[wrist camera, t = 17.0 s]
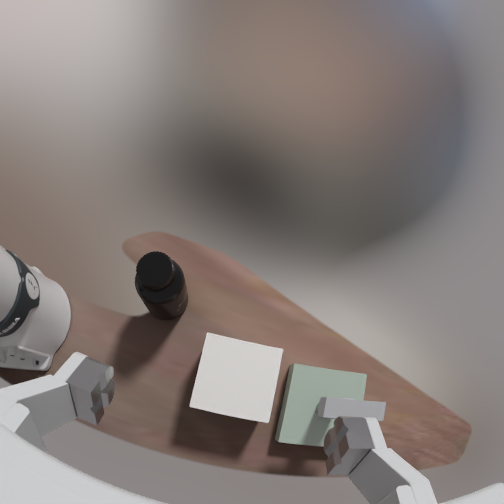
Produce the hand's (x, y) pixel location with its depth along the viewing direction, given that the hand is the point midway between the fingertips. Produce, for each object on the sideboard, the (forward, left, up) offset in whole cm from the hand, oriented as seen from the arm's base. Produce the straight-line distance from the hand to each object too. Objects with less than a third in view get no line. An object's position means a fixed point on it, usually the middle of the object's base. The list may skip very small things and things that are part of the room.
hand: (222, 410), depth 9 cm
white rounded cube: (+3, +1, -34) cm, 35 cm away
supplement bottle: (-2, +16, -35) cm, 38 cm away
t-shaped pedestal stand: (+14, -8, -34) cm, 38 cm away
